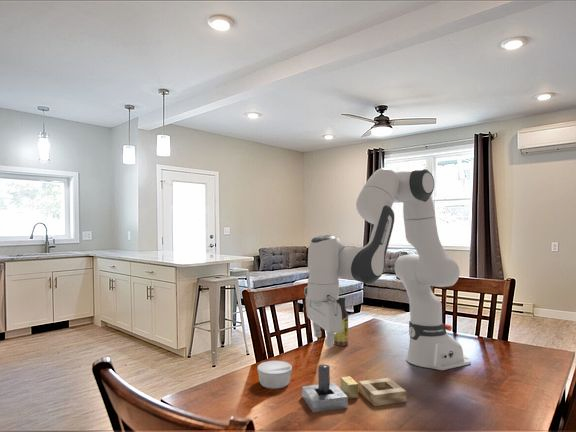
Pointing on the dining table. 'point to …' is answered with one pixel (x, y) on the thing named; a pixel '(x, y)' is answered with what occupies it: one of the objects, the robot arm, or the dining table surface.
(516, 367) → the dining table surface
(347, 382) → the bar
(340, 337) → the sauce bottle
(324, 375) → the dark grey rounded rod
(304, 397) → the socket plate
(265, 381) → the ramekin
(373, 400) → the block
